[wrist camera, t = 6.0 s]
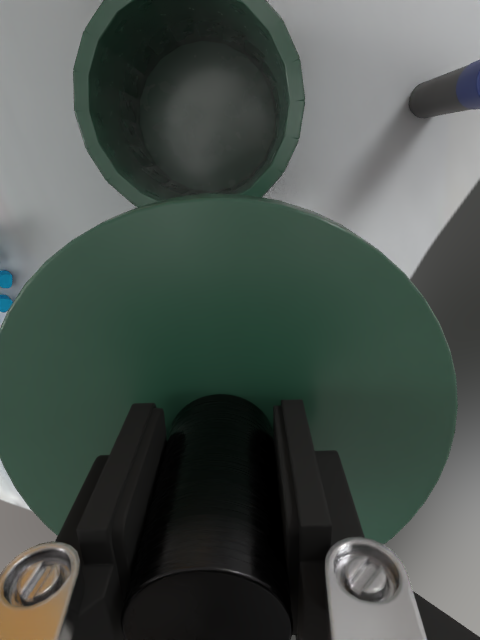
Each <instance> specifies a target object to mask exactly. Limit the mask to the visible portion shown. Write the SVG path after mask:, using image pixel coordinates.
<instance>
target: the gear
mask: <svg viewBox="0 0 480 640" xmlns="http://www.w3.org/2000/svg"><path fill="white" fill-rule="evenodd" d="M12 280H13V279H12V275H11V274H10V272H9V271H6V270H3V271H0V286H1V287H2V288H10V287H11V286H12ZM12 303H13V302H12V300H11V299H10V298H9V297H8V296H7V295H0V311H1V312H6V311H8V310H9V308H10V307H11V305H12Z"/></svg>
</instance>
